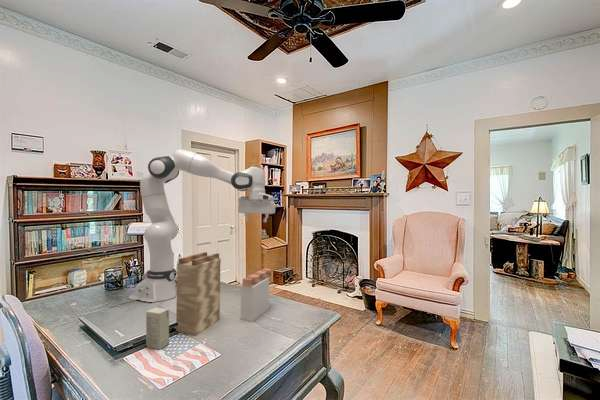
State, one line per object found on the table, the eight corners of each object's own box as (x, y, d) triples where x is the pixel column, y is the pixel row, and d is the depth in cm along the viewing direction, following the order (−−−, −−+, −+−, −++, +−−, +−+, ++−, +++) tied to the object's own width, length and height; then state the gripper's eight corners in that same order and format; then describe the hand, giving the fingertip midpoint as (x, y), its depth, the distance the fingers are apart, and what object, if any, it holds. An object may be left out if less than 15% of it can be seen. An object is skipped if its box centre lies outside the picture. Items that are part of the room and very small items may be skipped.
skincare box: (169, 343, 99) (170, 309, 99) (159, 350, 94) (160, 313, 95) (155, 340, 101) (155, 306, 101) (145, 346, 97) (145, 310, 97)
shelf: (257, 307, 134) (257, 276, 134) (268, 309, 132) (269, 278, 132) (240, 319, 120) (241, 285, 120) (252, 321, 118) (253, 287, 118)
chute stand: (201, 316, 122) (203, 252, 122) (219, 319, 119) (220, 253, 119) (176, 331, 108) (177, 258, 108) (195, 335, 105) (196, 260, 105)
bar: (263, 274, 138) (264, 268, 138) (271, 275, 136) (271, 269, 137) (242, 285, 119) (242, 278, 119) (250, 287, 118) (251, 279, 118)
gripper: (236, 196, 151) (235, 221, 151) (273, 196, 148) (272, 223, 148) (240, 196, 157) (240, 221, 157) (276, 196, 154) (275, 222, 154)
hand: (256, 222), depth 152 cm, fingers open, 8 cm apart
